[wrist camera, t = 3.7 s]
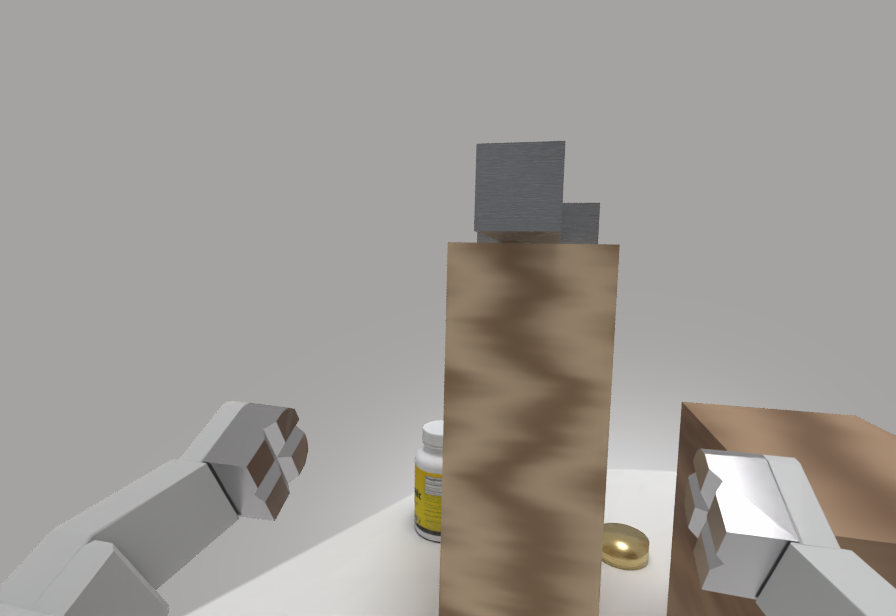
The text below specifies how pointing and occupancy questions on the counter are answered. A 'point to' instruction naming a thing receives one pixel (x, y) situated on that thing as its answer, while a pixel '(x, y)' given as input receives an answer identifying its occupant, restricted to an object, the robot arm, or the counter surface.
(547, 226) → the hook bar
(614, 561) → the brass disc
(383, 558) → the counter surface
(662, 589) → the counter surface
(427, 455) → the supplement bottle
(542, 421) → the oak shelf block
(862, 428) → the walnut block
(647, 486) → the counter surface
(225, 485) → the robot arm
